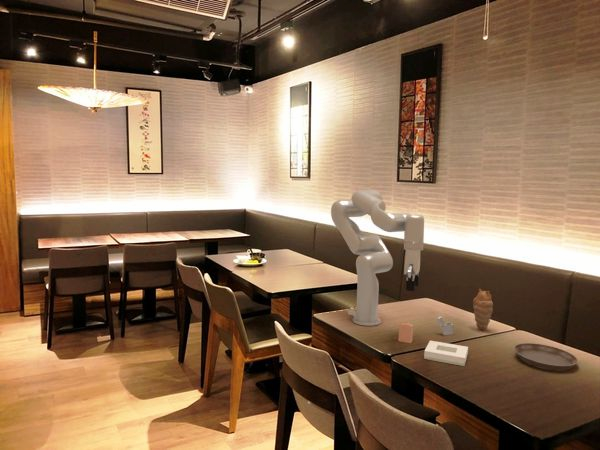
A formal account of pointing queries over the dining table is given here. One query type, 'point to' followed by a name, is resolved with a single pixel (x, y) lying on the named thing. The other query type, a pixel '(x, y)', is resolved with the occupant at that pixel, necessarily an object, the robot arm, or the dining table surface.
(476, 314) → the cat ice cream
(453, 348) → the holder
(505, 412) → the dining table surface
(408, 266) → the robot arm
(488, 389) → the dining table surface
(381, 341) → the dining table surface
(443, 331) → the white plastic device
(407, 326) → the block
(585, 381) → the dining table surface
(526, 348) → the plant saucer
